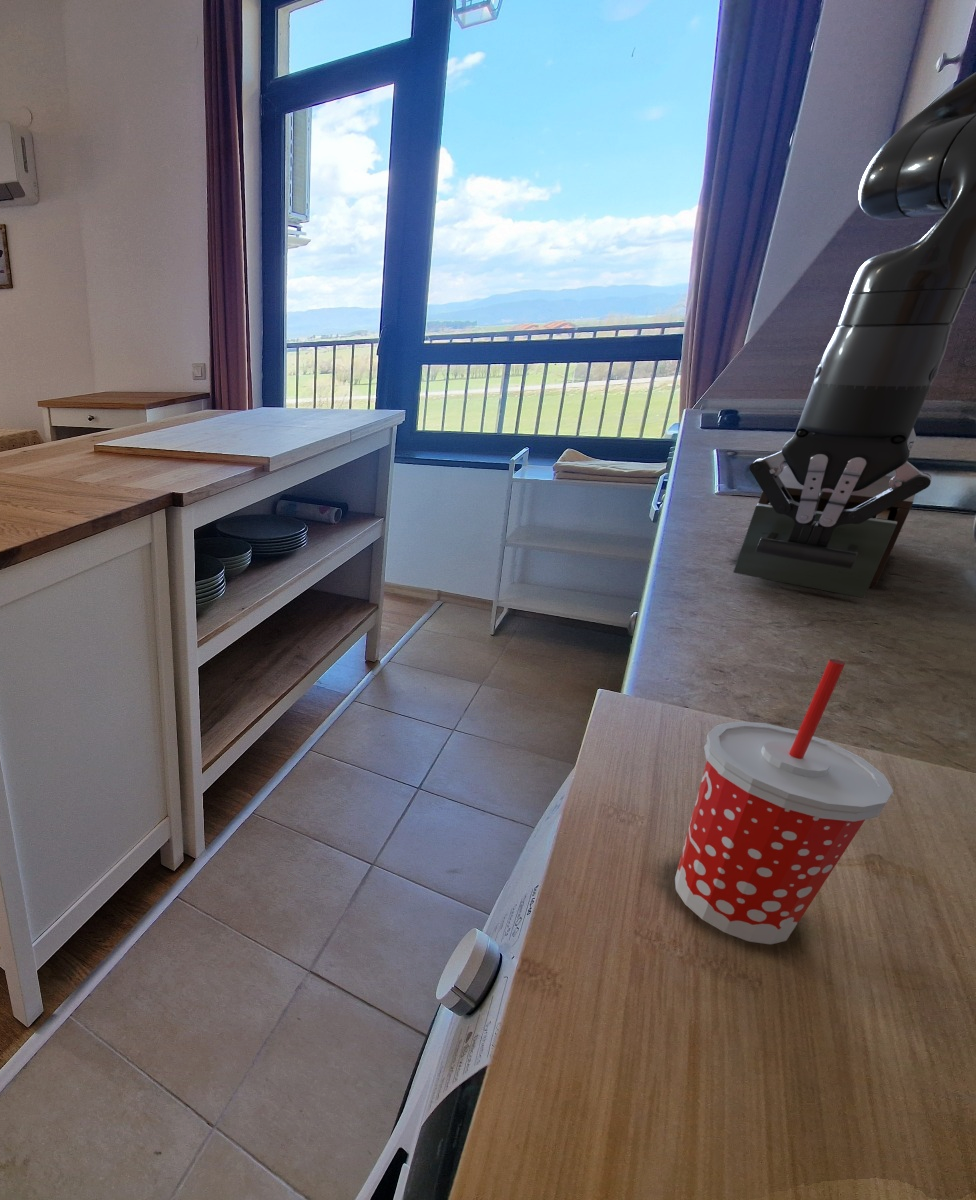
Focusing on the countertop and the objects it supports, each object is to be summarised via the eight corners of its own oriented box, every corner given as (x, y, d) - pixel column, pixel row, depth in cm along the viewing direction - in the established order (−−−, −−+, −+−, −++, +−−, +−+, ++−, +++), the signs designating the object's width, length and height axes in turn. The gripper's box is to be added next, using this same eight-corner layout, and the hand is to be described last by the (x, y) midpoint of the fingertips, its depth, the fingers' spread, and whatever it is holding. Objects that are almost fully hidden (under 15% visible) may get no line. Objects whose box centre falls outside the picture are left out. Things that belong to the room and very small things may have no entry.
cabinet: (874, 588, 68) (913, 501, 64) (737, 563, 76) (764, 484, 72) (884, 556, 76) (918, 478, 73) (760, 537, 84) (785, 466, 81)
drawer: (858, 614, 60) (893, 536, 57) (721, 586, 67) (745, 515, 64) (874, 565, 71) (904, 498, 68) (755, 545, 79) (777, 484, 76)
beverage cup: (702, 844, 35) (790, 620, 30) (842, 931, 30) (980, 679, 25) (629, 879, 33) (710, 645, 28) (766, 979, 28) (899, 716, 23)
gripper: (983, 379, 54) (898, 565, 61) (781, 374, 64) (727, 537, 71) (985, 385, 50) (893, 585, 57) (768, 379, 59) (711, 552, 66)
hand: (801, 558), depth 64 cm, fingers closed
